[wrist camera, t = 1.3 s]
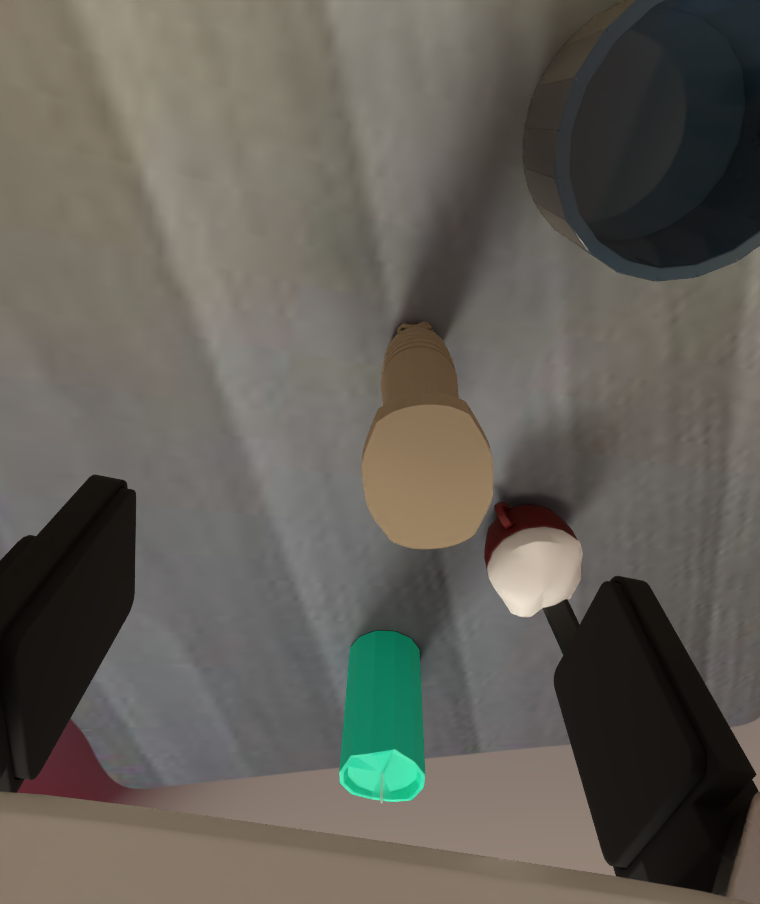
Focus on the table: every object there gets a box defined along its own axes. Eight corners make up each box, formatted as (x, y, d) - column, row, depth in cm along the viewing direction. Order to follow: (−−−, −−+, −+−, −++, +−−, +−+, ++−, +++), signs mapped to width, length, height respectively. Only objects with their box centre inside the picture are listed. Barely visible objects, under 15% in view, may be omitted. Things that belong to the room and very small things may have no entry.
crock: (570, -34, 25) (625, -82, 19) (797, 30, 26) (917, 2, 20) (494, 224, 31) (518, 250, 25) (684, 269, 32) (752, 304, 26)
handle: (453, 287, 32) (492, 398, 20) (458, 390, 36) (493, 544, 23) (369, 295, 33) (352, 410, 20) (381, 397, 36) (373, 553, 23)
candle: (435, 656, 48) (445, 805, 38) (383, 688, 50) (380, 836, 40) (385, 619, 46) (382, 765, 35) (334, 653, 48) (317, 800, 38)
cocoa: (472, 485, 39) (500, 616, 29) (565, 470, 38) (628, 600, 28) (487, 586, 44) (515, 730, 33) (570, 575, 43) (625, 719, 33)
